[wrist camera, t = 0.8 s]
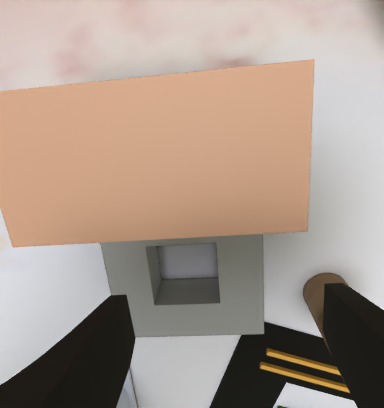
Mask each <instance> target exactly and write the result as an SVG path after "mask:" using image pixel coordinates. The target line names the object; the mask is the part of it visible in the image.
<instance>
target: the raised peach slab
mask: <svg viewBox="0 0 384 408" xmlns="http://www.w3.org/2000/svg"><path fill="white" fill-rule="evenodd" d="M314 60H315V59H313V60H303V61H293V62H284V63H274V64H264V65H254V66H244V67H235V68H225V69H215V70H205V71H195V72H186V73H176V74H166V75H156V76H147V77H137V78H127V79H117V80H107V81H98V82H88V83H78V84H68V85H58V86H49V87H39V88H29V89H19V90H10V91H0V208H1V212H2V215H3V218H4V221H5V224H6V227H7V231H8V234H9V237H10V240H11V243H12V246H13V247H27V246H46V245H64V244H83V243H101V242H120V241H138V240H157V239H175V238H193V237H212V236H230V235H249V234H267V233H286V232H304V231H307V229H308V205H309V181H310V157H311V133H312V108H313V84H314Z"/></svg>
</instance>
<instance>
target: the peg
mask: <svg viewBox="0 0 384 408" xmlns="http://www.w3.org/2000/svg"><path fill="white" fill-rule="evenodd" d="M327 283H344V284H345V285H347V283H346V282H345V281H344V279H343V278H341V277H340V276H338V275H336V274H333V273H322V274H318V275H316V276H314V277H312V278H311V279H310V280H309V281H308V282H307V283H306V284H305V286H304V289H303V297H304V299H305V301H306V304H307V306H308V308H309V310H310V312H311V314H312V316H313V318H314V320H315V322H316V324H317V326H318V329H319V331H320V333H321V335H322V337H323V339H324V341H325V343H326V345H327V342H326V339H325V336H324V334H323V331H322V329H323V306H324V284H327ZM347 286H348V285H347ZM327 347H328V345H327ZM328 349H329V347H328ZM329 352H330V350H329ZM330 354H331V353H330ZM331 356H332V355H331ZM340 375H341V374H340ZM341 377H342V376H341ZM342 379H343V378H342ZM343 381H344V380H343ZM344 383H345V382H344Z"/></svg>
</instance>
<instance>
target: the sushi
mask: <svg viewBox="0 0 384 408" xmlns="http://www.w3.org/2000/svg"><path fill="white" fill-rule="evenodd" d="M286 382H287V383H291V384H295V385H298V386H302V387H306V388H309V389H313V390H317V391H320V392H324V393H328V394H331V395H335V396H339V397H343V398H346V399H350V400H353V398H352V396H351V394H350V392H349V390H348V388H347V386H346V384H345V383H344V381H343V379H342V377H341V375H340V372H339V370H338V368H337V366H336V364H335V362H334V360H333V358H332V356H331V354H330V352H329V349H328V347H327V345H326V343H325V341H324V339H323V338H321V337H317V336H314V335H310V334H307V333H303V332H299V331H296V330H292V329H289V328H285V327H282V326H278V325H274V324H271V323H267V322H264V334H245V335H241V337H240V339H239V342H238V344H237V346H236V349H235V351H234V353H233V355H232V358H231V360H230V362H229V365H228V367H227V369H226V371H225V374H224V376H223V378H222V381H221V383H220V385H219V387H218V390H217V392H216V394H215V397H214V399H213V401H212V403H211V406H210V408H273V406H274V404H275V402H276V400H277V399H278V397H279V395H280V393H281V391H282V389H283V387H284V386H285V384H286ZM277 408H286V407H282V406H279V405H278V407H277Z"/></svg>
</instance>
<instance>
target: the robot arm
mask: <svg viewBox="0 0 384 408" xmlns="http://www.w3.org/2000/svg"><path fill="white" fill-rule="evenodd" d="M322 331H323V334H324V336H325V339H326V342H327V345H328V347H329V350H330V353H331V355H332V358H333V360H334V362H335V364H336V366H337V368H338V370H339V372H340V374H341V376H342V378H343V380H344V382H345V384H346V386H347V388H348V390H349V392H350V394H351V396H352V398H353V400H354V401H355V403H356V405H357V407H358V408H384V310H382V309H381V308H379V307H378V306H376V305H375V304H374V303H372V302H371V301H369V300H368V299H366V298H365V297H363V296H362V295H360V294H359V293H357V292H356V291H355V290H353V289H352V288H350V287H349V286H347V285H345V284H344V283H327V284H324V306H323V329H322ZM134 344H135V333H134V328H133V324H132V319H131V314H130V309H129V304H128V300H127V295H111V296H109V297H108V298H107V299H106V300H105V301H104V302H103V303H101V304H100V305H99V306H98V307H97V308H96V309H95V310H94V311H93V312H92V313H91V314H90V315H88V316H87V317H86V318H85V319H84V320H83V321H82V322H81V323H80V324H79V325H77V326H76V327H75V328H74V329H73V330H72V331H71V332H70V333H68V334H67V335H66V336H65V337H64V338H63V339H61V340H60V341H59V342H58V343H57V344H55V345H54V346H53V347H52V348H51V349H49V350H48V351H47V352H46V353H45V354H43V355H42V356H41V357H39V358H38V359H37V360H36V361H34V362H33V363H32V364H30V365H29V366H27V367H26V368H25V369H23V370H22V371H21V372H19V373H18V374H16V375H15V376H14V377H12V378H11V379H9V380H8V381H6V382H5V383H3V384H1V385H0V408H137V404H136V399H135V394H134V389H133V384H132V379H131V374H130V369H129V367H130V363H131V359H132V354H133V349H134Z"/></svg>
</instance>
